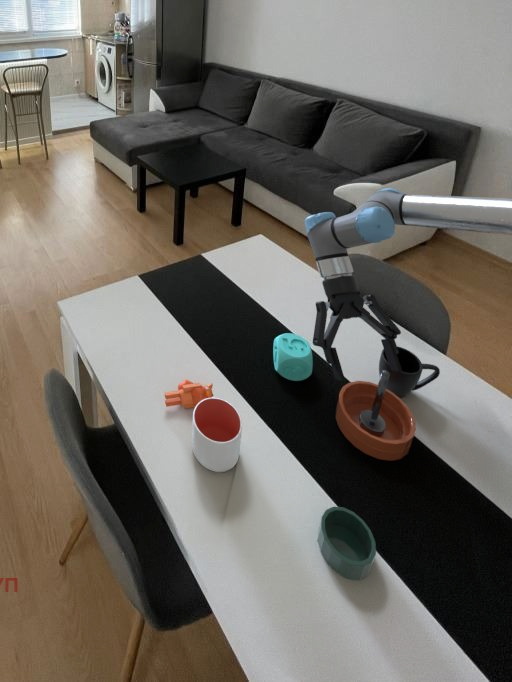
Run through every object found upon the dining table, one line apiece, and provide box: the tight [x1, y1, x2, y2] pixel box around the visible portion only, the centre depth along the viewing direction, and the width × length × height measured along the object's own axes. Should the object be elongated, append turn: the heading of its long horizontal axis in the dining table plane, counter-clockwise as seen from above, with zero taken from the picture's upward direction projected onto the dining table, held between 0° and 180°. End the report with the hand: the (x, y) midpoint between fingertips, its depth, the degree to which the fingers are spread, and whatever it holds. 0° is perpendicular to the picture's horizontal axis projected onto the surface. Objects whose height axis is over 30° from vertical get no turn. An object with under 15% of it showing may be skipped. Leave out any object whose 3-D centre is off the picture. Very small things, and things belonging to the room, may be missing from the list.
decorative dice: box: [272, 332, 314, 382], centre depth 109 cm, size 8×8×8 cm
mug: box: [378, 345, 441, 399], centre depth 102 cm, size 8×12×10 cm
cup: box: [191, 397, 243, 473], centre depth 91 cm, size 10×10×10 cm
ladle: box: [359, 370, 390, 437], centre depth 92 cm, size 5×5×17 cm
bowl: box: [335, 380, 417, 462], centre depth 94 cm, size 14×14×6 cm
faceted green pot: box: [317, 506, 377, 581], centre depth 75 cm, size 8×8×5 cm
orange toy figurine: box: [164, 379, 214, 409], centre depth 103 cm, size 5×8×12 cm
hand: (368, 375), depth 95 cm, fingers open, 13 cm apart
